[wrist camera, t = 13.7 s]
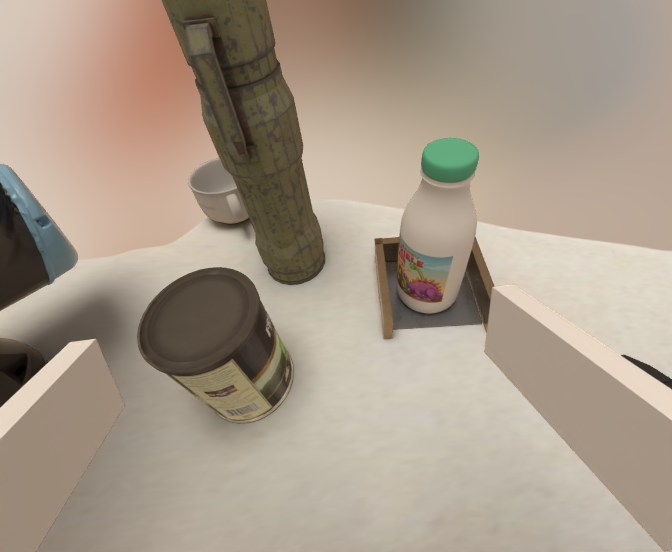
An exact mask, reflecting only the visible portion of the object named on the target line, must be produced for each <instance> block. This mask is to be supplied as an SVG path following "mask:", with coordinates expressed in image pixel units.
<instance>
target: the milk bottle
mask: <svg viewBox="0 0 672 552" xmlns="http://www.w3.org/2000/svg"><path fill="white" fill-rule="evenodd" d="M478 159H479V152H478V149H477V148H476V147H475V146H474V145H473V144H472V143H470V142H468V141H466V140H462V139H458V138H443V139H439V140H436V141H433V142H431V143H429V144H428V145H427V146H426V147H425V149H424V151H423V154H422V162H421V167H422V168H421V171H420V172H421V176H422V181H421V184H420V186H419V188H418V190H417V191H416V193H415V194H414V196H413V197H412V199H411V200H410V201H409V203H408V205H407V207H406V209H405V211H404V214H403V217H402V221H401V228H400V236H399V250H398V266H397V292H398V295H399V297H400V299H401V300H402V301H403V303H404V304H406V305H407V306H408V307H409V308H411V309H412V310H415V311H417V312H421V313H428V314H431V313H437V312H441V311H443V310H445V309H447V308H449V307H450V306H451V305H452V304H453V303H454V302H455V300H456V298H457V295H458V293H459V289H460V286H461V283H462V280H463V277H464V273H465V270H466V267H467V263H468V260H469V257H470V253H471V250H472V246H473V242H474V238H475V234H476V226H477V218H476V211H475V207H474V204H473V201H472V198H471V194H470V181H471V180H472V179H473V178H474V175H475V170H476V167H477V164H478Z"/></svg>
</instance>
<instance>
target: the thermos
mask: <svg viewBox="0 0 672 552" xmlns="http://www.w3.org/2000/svg"><path fill="white" fill-rule="evenodd" d="M162 2H163V5H164V7H165V9H166V12H167V14H168V17H169V19H170V21H171V24H172V26H173V29H174V31H175V34H176V36H177V39H178V41H179V44H180V46H181V48H182V51H183V53H184V56H185V58H186V60H187V63H188V65H189V66H191V67H192V69H193V72H194V74H195V77H196V79H195V82H196V86H197V88H198V90H199V93H200V95H201V105H202V115H203V119H204V122H205V125H206V127H207V130H208V132H209V134H210V137H211V139H212V141H213V143H214V146H215V148H216V151H217V153H218V155H219V158H220V160H221V162H222V165H223V167H224V169H225V170H227V171H228V172H229V173H230V174H231V175H232V177H233V179H234V182H235V184H236V187H237V189H238V191H239V194H240V196H241V199H242V201H243V203H244V206H245V208H246V211H247V213H248V216H249V218H250V220H251V223H252V225H253V228H254V230H255V233H256V242H255V244H256V246H257V248H258V251H259V253H260V255H261V258H262V260H263V262H264V264H265V265H266V266H267V268H268V271H269V274H270V275H271V276H272V277H273V278H274V280H276V281H278V282H280V283H283V284H289V285H293V284H301V283H304V282H307V281H309V280H311V279H312V278H314V277H315V276H317V275H318V273H319V272H320V271H321V270H322V268H323V266H324V263H325V254H324V251H323V239H322V234H321V229H320V226H319V223H318V220H317V217H316V216H315V214H314V213H313V210H312V206H311V201H310V196H309V192H308V187H307V182H306V178H305V173H304V168H303V163H302V159H301V157H302V153H303V142H302V137H301V132H300V127H299V122H298V117H297V112H296V107H295V102H294V97H293V95H292V93H291V91H290V89H289V87H288V86H287V84H286V82H285V80H284V78H283V76H282V71H281V67H280V63H279V62H278V60H277V59H276V55H275V50H274V47H275V39H274V34H273V30H272V25H271V21H270V16H269V11H268V7H267V2H266V0H162Z"/></svg>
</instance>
